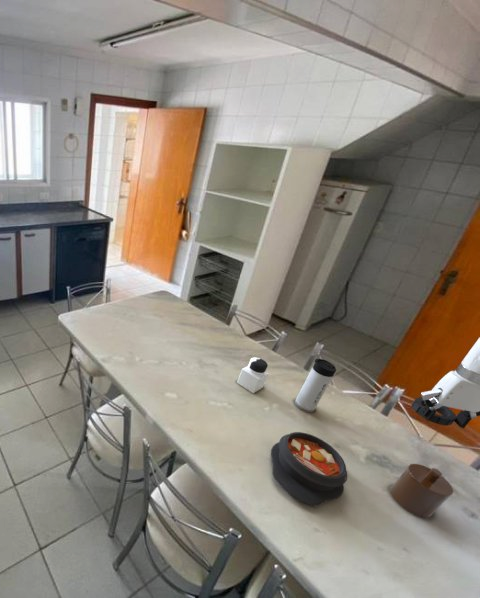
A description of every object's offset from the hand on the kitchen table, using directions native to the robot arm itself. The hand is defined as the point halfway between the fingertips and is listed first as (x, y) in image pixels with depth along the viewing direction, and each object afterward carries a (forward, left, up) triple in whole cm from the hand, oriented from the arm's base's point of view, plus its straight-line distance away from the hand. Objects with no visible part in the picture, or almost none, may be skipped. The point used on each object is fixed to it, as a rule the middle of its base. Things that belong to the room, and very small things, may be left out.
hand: (441, 420), depth 98 cm
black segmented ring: (0, -4, -1) cm, 4 cm away
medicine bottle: (+46, -17, -16) cm, 52 cm away
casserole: (+37, +19, -16) cm, 45 cm away
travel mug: (+28, -12, -16) cm, 35 cm away
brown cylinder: (+10, +19, -16) cm, 27 cm away
